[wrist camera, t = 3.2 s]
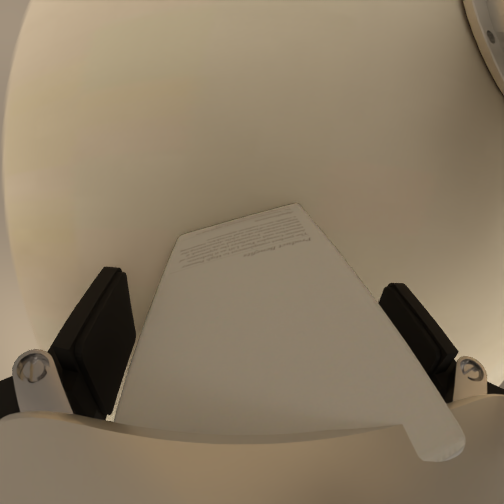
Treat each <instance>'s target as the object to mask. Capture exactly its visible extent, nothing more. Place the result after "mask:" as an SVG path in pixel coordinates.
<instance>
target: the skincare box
mask: <svg viewBox="0 0 504 504" xmlns="http://www.w3.org/2000/svg"><path fill="white" fill-rule="evenodd" d="M114 422H116V423H121V424H127V425H133V426H139V427H146V428H153V429H161V430H168V431H177V432H188V433H200V434H218V435H273V434H292V433H304V432H315V431H324V430H342V429H358V428H370V427H380V426H389V425H400V424H403V426H404V428H405V430H406V432H407V434H408V437H409V439H410V441H411V443H412V445H413V447H414V449H415V451H416V453H417V455H418V457H419V458H421V459H422V460H423V461H433V462H442V461H447V460H450V459H452V458H454V457H456V456H458V455H459V454H460V453H461V452H462V451H463V449H464V447H465V443H466V438H465V435H464V433H463V430H462V428H461V427H460V425H459V424H458V422H457V420H456V419H455V417H454V416H453V414H452V412H451V411H450V409H449V407H448V406H447V404H446V403H445V401H444V400H443V398H442V396H441V395H440V393H439V392H438V390H437V389H436V387H435V386H434V384H433V383H432V381H431V379H430V378H429V376H428V375H427V373H426V372H425V370H424V369H423V367H422V365H421V364H420V362H419V361H418V359H417V358H416V356H415V355H414V353H413V352H412V350H411V349H410V347H409V346H408V345H407V343H406V342H405V340H404V339H403V337H402V336H401V334H400V333H399V332H398V330H397V329H396V327H395V326H394V325H393V323H392V322H391V320H390V319H389V318H388V316H387V315H386V313H385V312H384V311H383V309H382V308H381V306H380V305H379V304H378V302H377V301H376V300H375V298H374V297H373V296H372V294H371V293H370V292H369V290H368V289H367V288H366V286H365V285H364V284H363V282H362V281H361V280H360V278H359V277H358V276H357V274H356V273H355V272H354V271H353V269H352V268H351V267H350V265H349V264H348V263H347V262H346V260H345V259H344V258H343V256H342V255H341V254H340V252H339V251H338V250H337V249H336V248H335V246H334V245H333V244H332V242H331V241H330V240H329V239H328V238H327V237H326V235H325V234H324V233H323V232H322V231H321V229H320V228H319V227H318V226H317V225H316V224H315V222H314V221H313V220H312V219H311V217H310V216H309V215H308V214H307V213H306V211H305V210H304V209H303V208H302V206H301V205H300V204H298V203H293V204H290V205H286V206H282V207H279V208H275V209H271V210H267V211H264V212H260V213H256V214H253V215H249V216H245V217H242V218H238V219H235V220H231V221H228V222H224V223H221V224H217V225H214V226H210V227H207V228H203V229H200V230H196V231H193V232H189V233H186V234H183V235H180V236H179V237H178V239H177V241H176V244H175V246H174V248H173V251H172V254H171V256H170V258H169V261H168V263H167V265H166V268H165V270H164V273H163V275H162V278H161V281H160V283H159V286H158V288H157V291H156V293H155V296H154V299H153V301H152V304H151V307H150V309H149V312H148V314H147V317H146V320H145V323H144V326H143V329H142V332H141V335H140V338H139V340H138V343H137V346H136V349H135V352H134V355H133V358H132V361H131V364H130V367H129V370H128V373H127V376H126V380H125V383H124V387H123V390H122V394H121V397H120V400H119V404H118V407H117V410H116V414H115V418H114Z"/></svg>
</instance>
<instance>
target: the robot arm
mask: <svg viewBox="0 0 504 504" xmlns="http://www.w3.org/2000/svg"><path fill="white" fill-rule="evenodd" d="M463 3H464V7H465V10H466V14H467V18H468V21H469V23H470V26H471V29H472V32H473V35H474V37H475V40H476V42H477V45H478V47H479V50H480V52H481V54H482V56H483V58H484V60H485V63H486V65H487V67H488V69H489V71H490V73H491V75H492V76H493V78H494V80H495V82H496V84H497V86H498V87H499V89H500V90H501V92H502V93H503V95H504V0H463ZM378 304H379V305H380V306H381V308H382V309H383V311H384V312H385V313H386V315H387V316H388V318H389V319H390V320H391V322H392V323H393V325H394V326H395V327H396V329H397V330H398V332H399V333H400V334H401V336H402V337H403V339H404V340H405V342H406V343H407V345H408V346H409V347H410V349H411V350H412V352H413V353H414V355H415V356H416V358H417V359H418V361H419V362H420V364H421V365H422V367H423V369H424V370H425V372H426V373H427V375H428V376H429V378H430V379H431V381H432V383H433V384H434V386H435V387H436V389H437V390H438V392H439V393H440V395H441V396H442V398H443V400H444V401H445V403H446V404H447V406H448V407H449V409H450V411H451V412H452V414H453V416H454V417H455V419H456V420H457V422H458V424H459V425H460V427H461V428H462V430H463V433H464V435H465V438H466V443H465V447H464V449H463V451H462V452H461V453H460V454H459V455H458V456H456V457H454V458H452V459H450V460H447V461H442V462H433V461H423V460H422V459H421V458H419V457H418V455H417V453H416V451H415V449H414V447H413V445H412V443H411V441H410V439H409V437H408V434H407V432H406V430H405V428H404V426H403V424H400V425H389V426H380V427H370V428H358V429H342V430H324V431H315V432H304V433H292V434H273V435H218V434H200V433H188V432H177V431H168V430H161V429H153V428H146V427H139V426H133V425H127V424H121V423H116V422H111V421H106V416H107V414H108V415H111V413H112V411H113V408H114V405H115V401H116V398H117V394H118V391H119V388H120V385H121V382H122V378H123V375H124V372H125V369H126V366H127V363H128V360H129V357H130V354H131V351H132V348H133V345H134V343H135V338H136V331H135V326H134V320H133V315H132V309H131V303H130V297H129V290H128V283H127V276H126V273H124V272H122V270H121V269H120V268H116V267H104V268H103V269H102V270H101V272H100V273H99V274H98V276H97V277H96V279H95V280H94V281H93V283H92V284H91V286H90V287H89V289H88V290H87V291H86V293H85V294H84V296H83V297H82V299H81V300H80V302H79V303H78V304H77V305H76V307H75V308H74V310H73V311H72V313H71V315H70V316H69V318H68V319H67V321H66V322H65V324H64V326H63V327H62V329H61V330H60V332H59V334H58V335H57V337H56V338H55V340H54V342H53V344H52V345H51V347H50V349H49V350H48V352H46V351H43V350H38V349H34V350H29V351H27V352H25V353H23V354H22V355H20V356H19V357H18V358H17V360H16V361H15V362H14V365H13V368H12V375H13V376H11V377H9V378H6V379H4V380H1V381H0V504H504V389H502V388H500V387H498V386H496V385H493V384H491V383H489V382H487V374H486V370H485V368H484V367H483V365H482V364H481V363H480V362H479V361H477V360H476V359H474V358H472V357H469V356H463V357H460V358H459V359H458V360H457V362H456V361H455V360H454V358H455V357H456V355H457V354H458V350H457V349H456V348H455V346H454V345H453V344H452V342H451V341H450V340H449V338H448V337H447V336H446V334H445V333H444V332H443V330H442V329H441V328H440V327H439V325H438V324H437V323H436V321H435V320H434V319H433V318H432V316H431V315H430V314H429V313H428V311H427V310H426V309H425V308H424V307H423V305H422V304H421V303H420V302H419V300H418V299H417V298H416V297H415V296H414V294H413V293H412V292H411V291H410V290H409V289H408V287H407V286H406V285H405V284H403V283H390V284H389V285H388V286H387V287H385V288H384V290H383V293H382V296H381V298H380V301H379V303H378Z"/></svg>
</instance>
